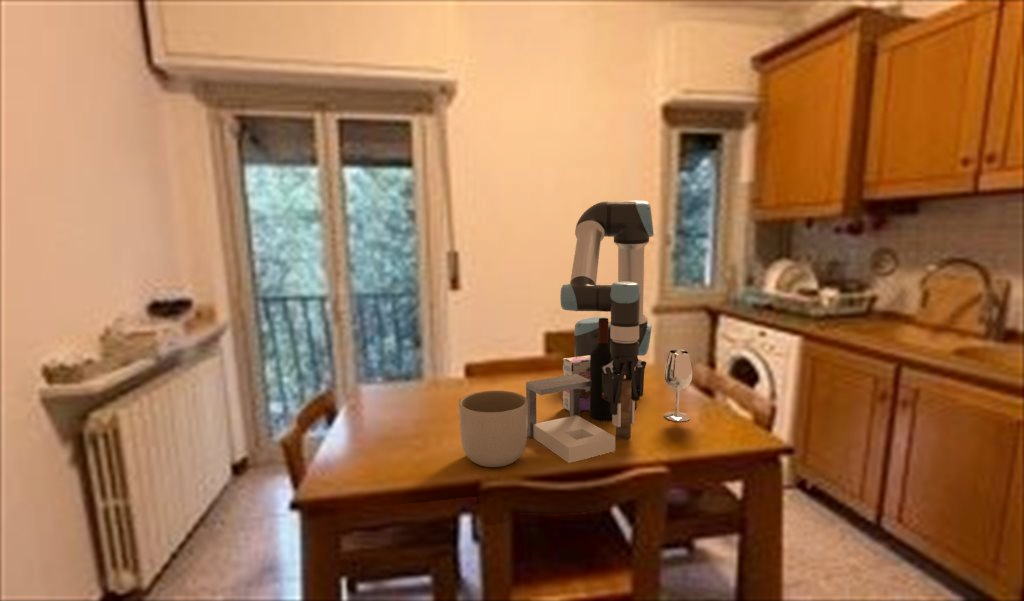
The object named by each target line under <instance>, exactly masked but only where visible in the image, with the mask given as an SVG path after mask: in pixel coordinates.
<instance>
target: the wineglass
mask: <svg viewBox="0 0 1024 601" xmlns="http://www.w3.org/2000/svg"><path fill="white" fill-rule="evenodd" d="M667 354H668V355H667V358H666V362H665V368H664V380H665V382H666V383H667V385H668V386H669V387H670V388H672V389H673V390H675V395H676V397H675V398H676V399H675V411H668V412H665V413H664V414H663V417H664V418H665V419H666V420H668V421H672V422H687V421H689V420H690V419H691V416H690V415H689V414H688V413H685V412H681V411H680V410H679V407H680V406H679V405H680V404H679V401H680V391H681V390H684V389H685V388H687V387H689V385H690V384H691V382H692V378H693V370H692V369H693V368H692V364H691V357H690V353H689V351H687V350H683V349H671V350H668V353H667Z"/></svg>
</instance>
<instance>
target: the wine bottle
mask: <svg viewBox="0 0 1024 601" xmlns="http://www.w3.org/2000/svg"><path fill="white" fill-rule="evenodd" d="M609 322H610V320H609V318H608V317H605V318H599V343H598V346H597V347H596V348H595V349H593V351H592V352H591V355H590V380H591V381H592V386H590V411H589V417H590V419H592V420H593V421H597V422H611V421H612V414H611V403H610V402H608V401H606V400H604V376H603V371H602V368H601V367H602V366H603V365H604V366H606V365H608V364H609V363H610V360H611V353H610V347H609V345H608V324H609ZM612 370H614V369H613V368H612ZM612 375H613V372H612Z"/></svg>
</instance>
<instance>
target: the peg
mask: <svg viewBox="0 0 1024 601" xmlns="http://www.w3.org/2000/svg"><path fill="white" fill-rule="evenodd" d="M631 384H632V380H630V379H627V378H626V377H624V379H623V380H622V385H621V391H620V396H619V402H618V403H621V427H617V426H615V438H617V439H620V440H629V439H631V436H632V435H631V434H632V424H631Z"/></svg>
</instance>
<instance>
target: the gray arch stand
mask: <svg viewBox="0 0 1024 601" xmlns="http://www.w3.org/2000/svg"><path fill="white" fill-rule="evenodd" d="M590 386H592V381H591V380H589V379H587V378H584V377H582V376H580V375H577V374H571V375H565V376H563V375H560V376H555V377H554V376H553V377H548V378H542V379H536V380H530V381H526V382H525V392H526V394H525V397H526V398H527V400H528V426H527V438H529V439H530V440H531V439H534V438H533V424H536V423H538V422H537V395H539V396H545V395H551V394H556V393H563V391H568V390H570V412H569V417H570V416H575V415H577V416H579V417H580V412H579V397H580V388H584V387H590Z"/></svg>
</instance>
